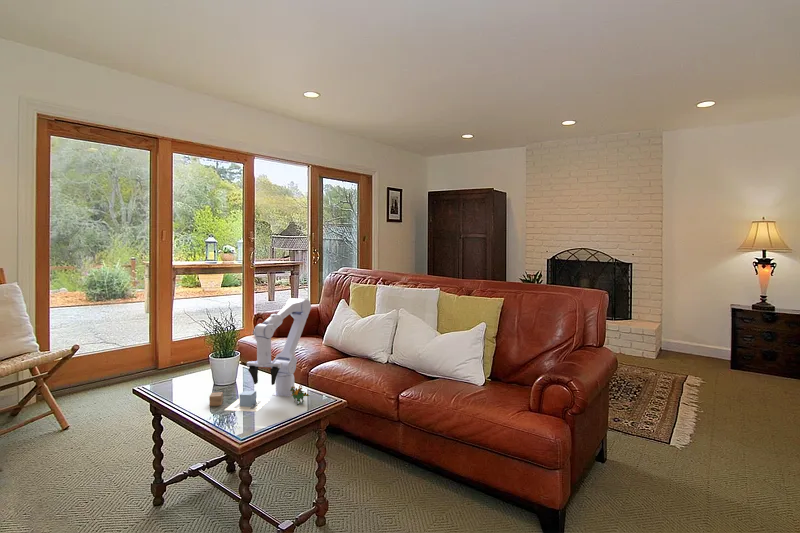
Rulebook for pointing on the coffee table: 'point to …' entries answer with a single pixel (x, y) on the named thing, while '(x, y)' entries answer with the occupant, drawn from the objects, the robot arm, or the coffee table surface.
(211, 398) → the walnut block
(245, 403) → the blue cube
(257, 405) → the letter mat
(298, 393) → the figurine
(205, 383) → the coffee table surface
